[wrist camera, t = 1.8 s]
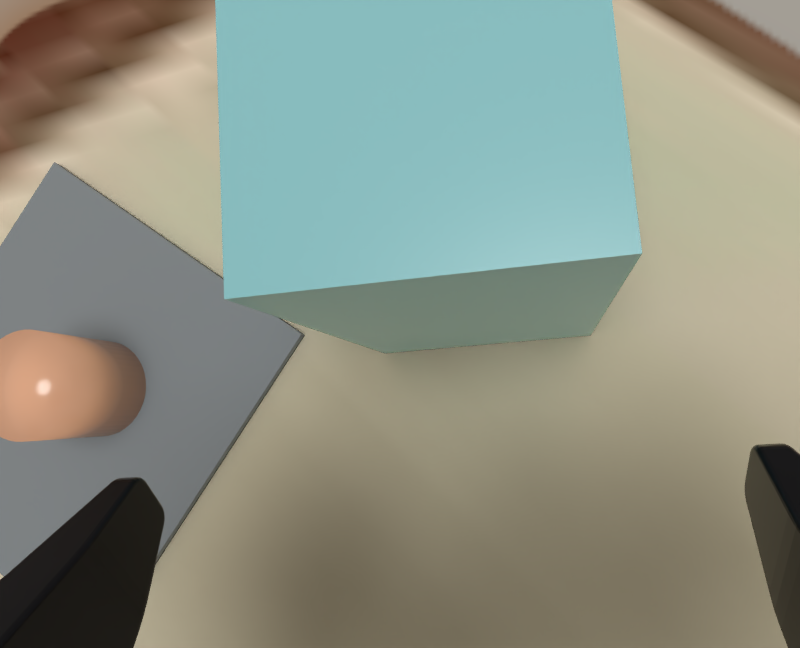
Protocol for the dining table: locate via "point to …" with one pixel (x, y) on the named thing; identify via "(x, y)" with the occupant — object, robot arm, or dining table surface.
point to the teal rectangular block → (424, 167)
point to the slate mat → (147, 338)
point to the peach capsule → (66, 386)
